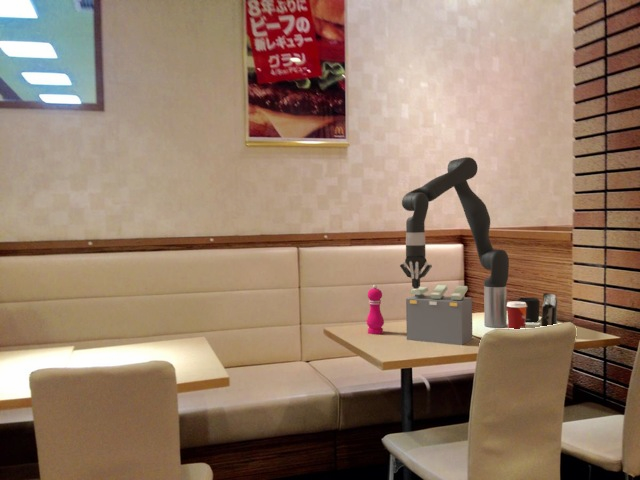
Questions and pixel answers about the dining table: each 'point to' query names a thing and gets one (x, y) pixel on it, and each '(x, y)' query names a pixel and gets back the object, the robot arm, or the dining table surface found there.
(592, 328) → the dining table surface
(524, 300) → the pen holder
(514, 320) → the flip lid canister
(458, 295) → the rocker
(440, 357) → the dining table surface
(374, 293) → the pepper mill
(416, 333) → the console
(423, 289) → the block
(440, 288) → the block
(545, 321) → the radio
